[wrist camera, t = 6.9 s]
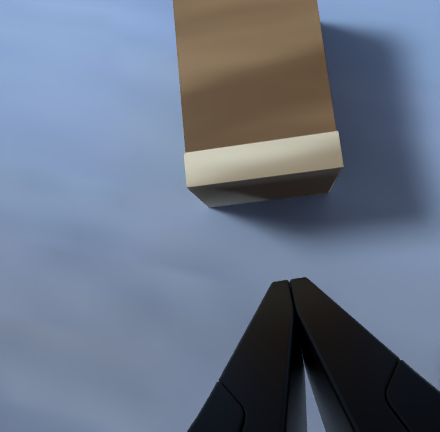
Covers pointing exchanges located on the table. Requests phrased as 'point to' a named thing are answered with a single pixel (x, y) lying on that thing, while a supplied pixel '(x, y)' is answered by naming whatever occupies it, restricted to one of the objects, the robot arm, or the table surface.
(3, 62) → the table surface
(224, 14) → the brown rectangular block
